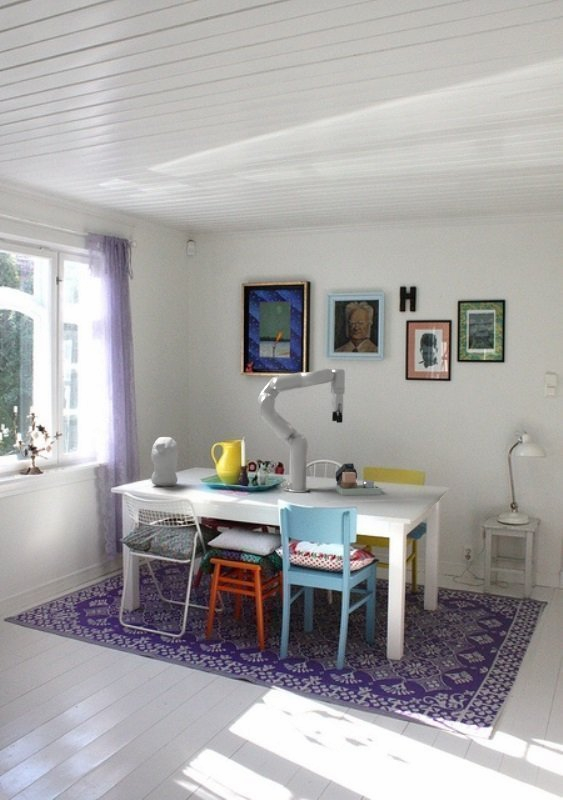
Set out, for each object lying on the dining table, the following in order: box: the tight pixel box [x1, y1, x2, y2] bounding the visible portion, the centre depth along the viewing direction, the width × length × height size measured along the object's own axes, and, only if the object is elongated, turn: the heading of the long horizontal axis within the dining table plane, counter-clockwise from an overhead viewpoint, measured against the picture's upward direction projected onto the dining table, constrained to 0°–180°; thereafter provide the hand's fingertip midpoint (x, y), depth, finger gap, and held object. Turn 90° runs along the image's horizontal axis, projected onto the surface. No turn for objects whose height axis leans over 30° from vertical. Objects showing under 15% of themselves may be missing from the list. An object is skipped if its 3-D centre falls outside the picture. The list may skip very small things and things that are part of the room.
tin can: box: [362, 480, 375, 488], centre depth 407 cm, size 6×6×6 cm
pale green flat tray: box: [335, 484, 382, 496], centre depth 406 cm, size 22×12×4 cm, turn 100°
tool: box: [334, 462, 358, 485], centre depth 424 cm, size 6×19×15 cm, turn 22°
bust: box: [150, 436, 179, 487], centre depth 420 cm, size 15×26×28 cm, turn 177°
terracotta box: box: [342, 472, 357, 483], centre depth 404 cm, size 6×5×5 cm
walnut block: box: [341, 481, 358, 489], centre depth 405 cm, size 7×7×6 cm
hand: (337, 421), depth 416 cm, fingers open, 9 cm apart
